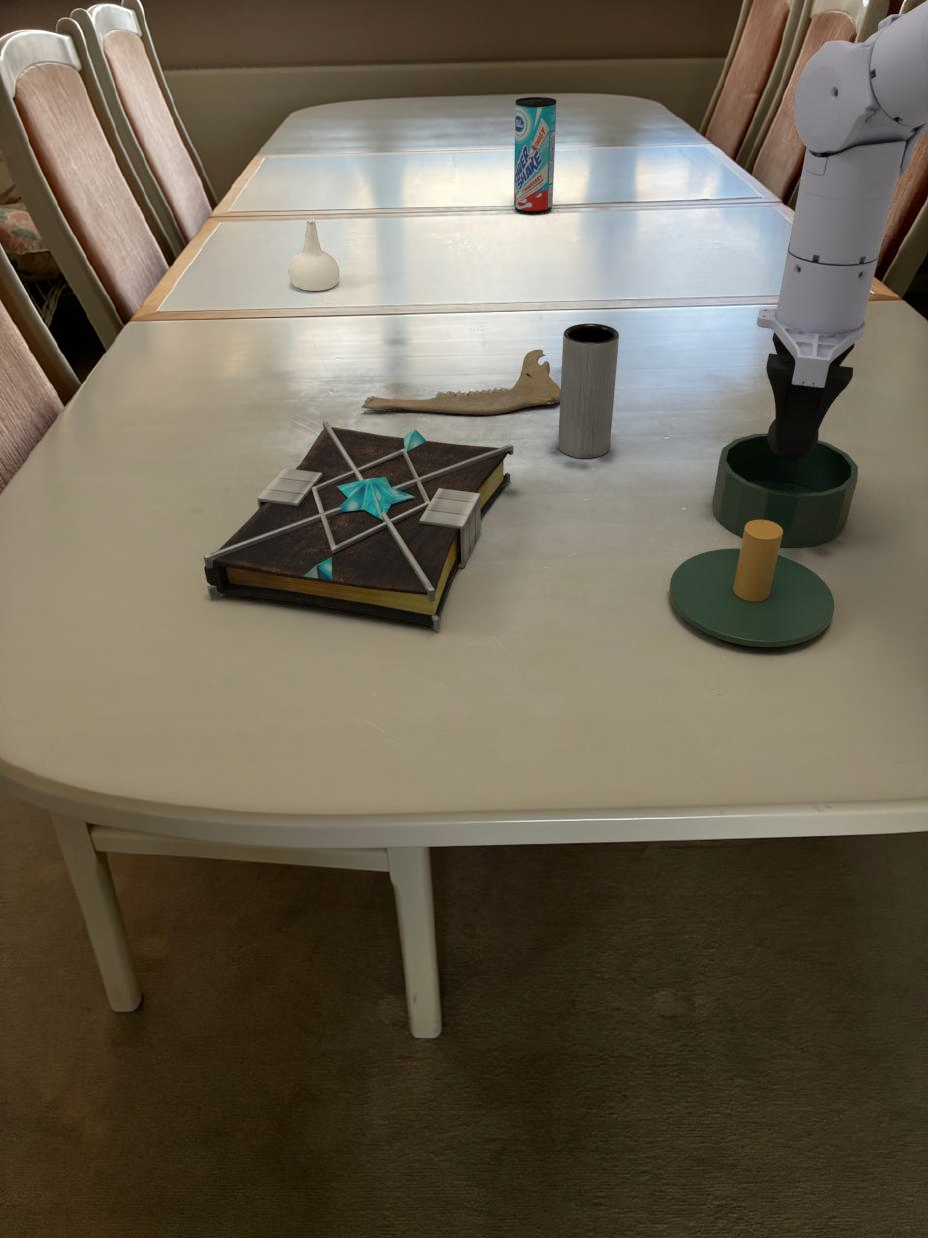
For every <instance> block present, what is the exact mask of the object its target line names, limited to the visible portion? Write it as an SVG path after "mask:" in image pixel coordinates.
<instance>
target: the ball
mask: <svg viewBox="0 0 928 1238" xmlns="http://www.w3.org/2000/svg"><path fill="white" fill-rule="evenodd" d="M819 431H820V430H818V432H817V434H816V437H815V439H814V441H813V443H812V445H811V447H810V449H809V451H808V452H807V454H806V455H805V456H807V455H808V454H809V453H810V452H811V451H812V450H813V449H814V448H815V446H816V444H817V441H818V440H819V435H820V434H819V433H820V432H819ZM767 433H768V436H767V437H768V444H769V446H770V448H771V450H772V451H773V452H774V453H775V454H776V455H777V456H779V457H780V458H783V459H786V460H797V459H801V458H803V457H805V456H799V455H792V454H784V453H778V452H777V450H776V443H775V419H773V421H772V422H771V424H770V425H769V427H768V431H767Z"/></svg>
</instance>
